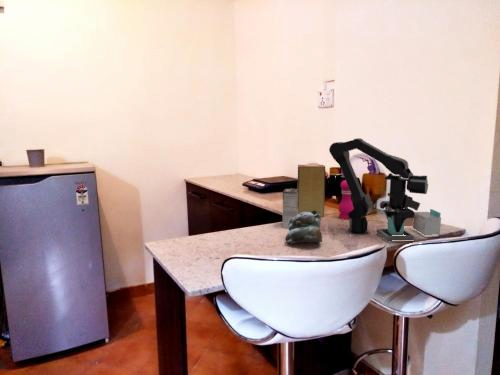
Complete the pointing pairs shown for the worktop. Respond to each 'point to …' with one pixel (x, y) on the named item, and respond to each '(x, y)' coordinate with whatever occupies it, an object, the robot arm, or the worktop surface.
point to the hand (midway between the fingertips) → (395, 230)
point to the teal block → (392, 228)
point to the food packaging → (311, 188)
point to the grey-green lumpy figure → (304, 228)
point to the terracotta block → (408, 222)
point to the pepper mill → (345, 201)
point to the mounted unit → (427, 222)
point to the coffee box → (289, 205)
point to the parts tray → (389, 237)
